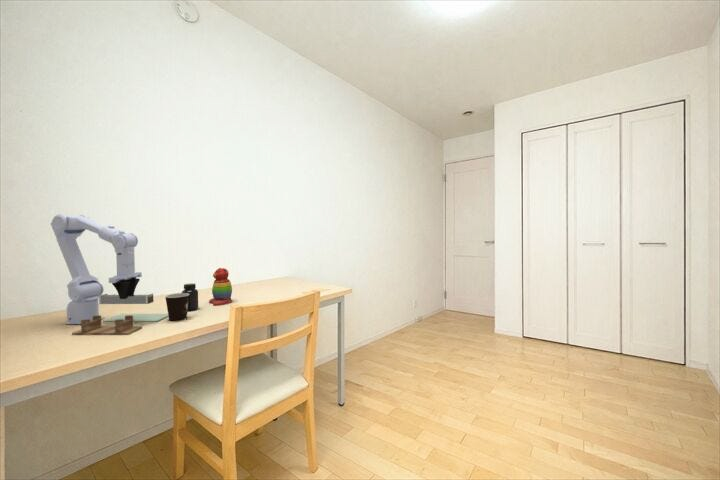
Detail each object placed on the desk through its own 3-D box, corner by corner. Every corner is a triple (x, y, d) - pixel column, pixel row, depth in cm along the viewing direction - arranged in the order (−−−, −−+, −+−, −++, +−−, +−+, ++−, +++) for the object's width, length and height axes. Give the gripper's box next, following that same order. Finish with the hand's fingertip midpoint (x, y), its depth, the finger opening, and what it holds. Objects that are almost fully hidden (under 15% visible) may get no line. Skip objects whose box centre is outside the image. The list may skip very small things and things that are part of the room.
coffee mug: (178, 322, 123) (178, 298, 123) (160, 321, 125) (160, 297, 124) (199, 314, 134) (198, 292, 134) (182, 313, 136) (182, 291, 136)
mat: (102, 322, 123) (102, 320, 123) (121, 315, 133) (121, 313, 133) (157, 322, 123) (157, 320, 123) (172, 315, 133) (172, 313, 133)
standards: (71, 334, 109) (71, 320, 108) (89, 328, 116) (88, 314, 115) (128, 334, 109) (127, 320, 109) (142, 328, 116) (141, 314, 116)
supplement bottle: (201, 308, 143) (200, 283, 143) (186, 312, 138) (186, 286, 137) (193, 306, 147) (192, 282, 147) (178, 310, 141) (178, 284, 141)
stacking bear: (207, 302, 156) (207, 268, 155) (228, 299, 163) (227, 266, 162) (214, 306, 148) (214, 270, 147) (235, 302, 155) (235, 268, 154)
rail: (99, 304, 120) (98, 295, 120) (106, 302, 123) (106, 293, 123) (147, 304, 120) (147, 295, 120) (153, 301, 123) (153, 293, 123)
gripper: (121, 266, 114) (122, 302, 114) (148, 261, 128) (149, 293, 129) (102, 266, 114) (103, 302, 114) (131, 261, 128) (132, 293, 129)
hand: (126, 297), depth 121 cm, fingers closed on rail, 3 cm apart
